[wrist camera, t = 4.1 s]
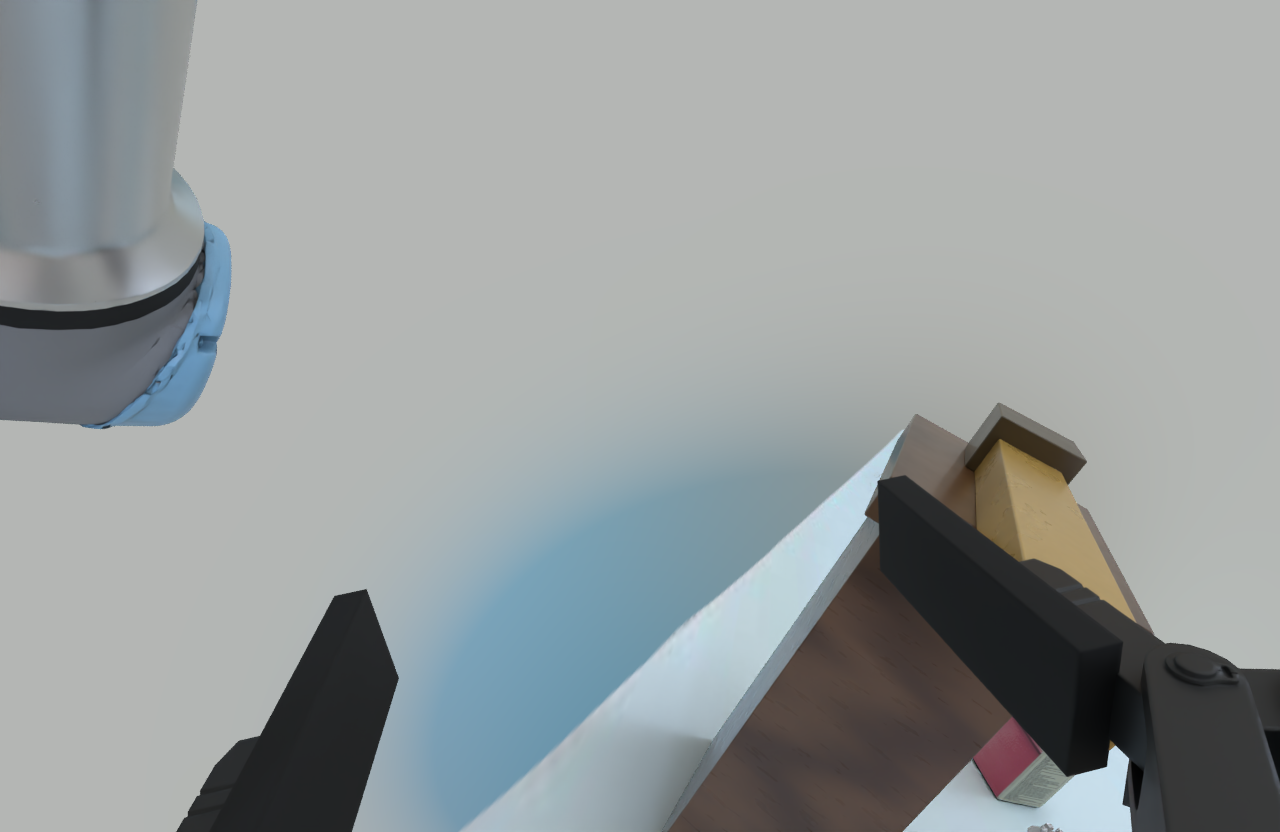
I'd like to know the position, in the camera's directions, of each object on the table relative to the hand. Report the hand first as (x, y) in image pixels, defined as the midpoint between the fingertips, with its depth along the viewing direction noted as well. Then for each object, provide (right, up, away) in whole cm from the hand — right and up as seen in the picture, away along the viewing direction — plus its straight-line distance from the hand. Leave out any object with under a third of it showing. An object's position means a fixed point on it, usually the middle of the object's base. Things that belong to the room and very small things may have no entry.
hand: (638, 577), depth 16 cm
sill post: (+6, -23, +24) cm, 34 cm away
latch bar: (+14, -1, +8) cm, 16 cm away
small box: (+32, -28, +40) cm, 59 cm away
